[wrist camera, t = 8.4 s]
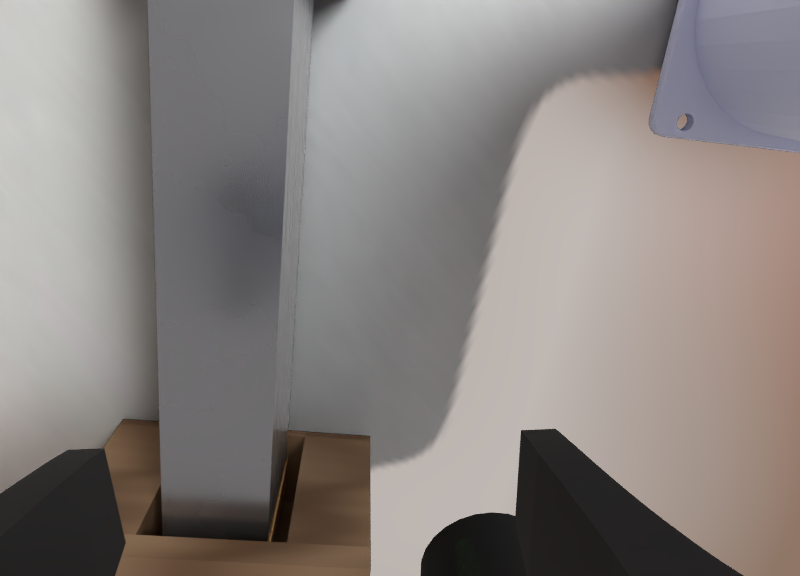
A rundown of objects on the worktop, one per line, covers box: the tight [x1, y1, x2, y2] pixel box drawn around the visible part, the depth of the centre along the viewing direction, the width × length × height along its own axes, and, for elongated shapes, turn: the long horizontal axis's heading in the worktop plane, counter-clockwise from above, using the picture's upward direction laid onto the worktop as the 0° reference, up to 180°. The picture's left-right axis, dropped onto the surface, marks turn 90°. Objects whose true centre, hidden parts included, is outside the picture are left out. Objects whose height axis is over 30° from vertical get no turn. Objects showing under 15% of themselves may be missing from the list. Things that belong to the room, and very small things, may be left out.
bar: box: [147, 0, 314, 542], centre depth 17 cm, size 3×18×5 cm, turn 173°
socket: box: [103, 419, 371, 576], centre depth 20 cm, size 9×4×6 cm, turn 83°
